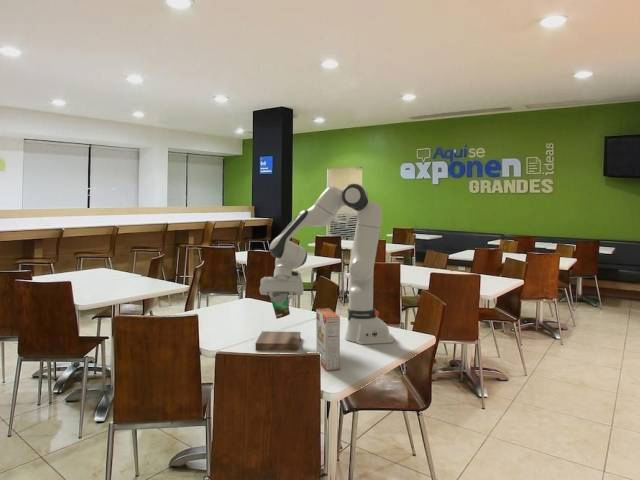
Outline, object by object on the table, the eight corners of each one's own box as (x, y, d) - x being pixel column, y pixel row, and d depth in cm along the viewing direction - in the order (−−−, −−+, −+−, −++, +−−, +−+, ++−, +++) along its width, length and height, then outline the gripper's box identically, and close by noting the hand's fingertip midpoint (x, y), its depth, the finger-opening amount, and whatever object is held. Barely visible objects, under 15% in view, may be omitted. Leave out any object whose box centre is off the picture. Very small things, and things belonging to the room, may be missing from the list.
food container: (288, 316, 204) (283, 294, 204) (275, 319, 205) (270, 297, 205) (295, 310, 216) (290, 289, 216) (282, 313, 217) (277, 292, 217)
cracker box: (315, 359, 188) (315, 308, 186) (329, 357, 189) (330, 307, 188) (324, 371, 174) (325, 316, 173) (340, 370, 176) (340, 315, 174)
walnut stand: (300, 338, 216) (300, 331, 216) (297, 350, 198) (297, 343, 198) (261, 337, 217) (261, 331, 216) (255, 350, 199) (255, 343, 198)
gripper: (260, 272, 217) (256, 297, 208) (303, 273, 216) (302, 298, 207) (261, 280, 222) (258, 305, 213) (304, 281, 221) (303, 305, 212)
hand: (280, 301), depth 210 cm, fingers closed on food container, 5 cm apart
